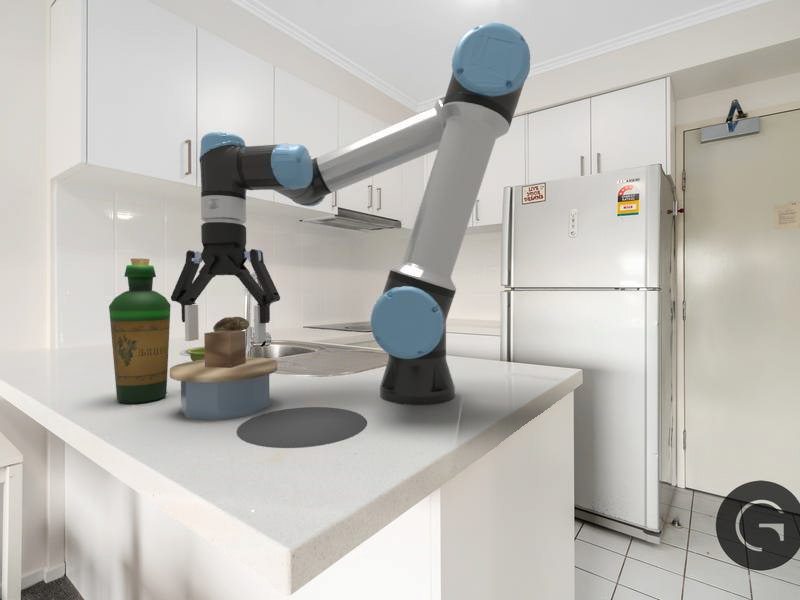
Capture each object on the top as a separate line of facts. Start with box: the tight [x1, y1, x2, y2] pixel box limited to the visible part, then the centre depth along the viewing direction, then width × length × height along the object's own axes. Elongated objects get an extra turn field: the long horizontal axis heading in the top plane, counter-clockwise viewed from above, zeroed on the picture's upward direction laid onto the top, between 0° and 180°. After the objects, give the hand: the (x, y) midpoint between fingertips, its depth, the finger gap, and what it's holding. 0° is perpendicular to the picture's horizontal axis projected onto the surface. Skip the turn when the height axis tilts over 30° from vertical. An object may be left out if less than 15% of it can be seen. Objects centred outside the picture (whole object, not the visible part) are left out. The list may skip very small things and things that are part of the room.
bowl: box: [180, 374, 271, 421], centre depth 78 cm, size 14×14×7 cm
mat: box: [236, 406, 368, 449], centre depth 68 cm, size 20×20×1 cm
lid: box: [169, 330, 278, 382], centre depth 78 cm, size 18×18×7 cm
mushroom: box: [212, 316, 250, 332], centre depth 110 cm, size 9×9×15 cm
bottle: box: [108, 258, 172, 405], centre depth 86 cm, size 11×11×28 cm
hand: (225, 341), depth 78 cm, fingers open, 13 cm apart
